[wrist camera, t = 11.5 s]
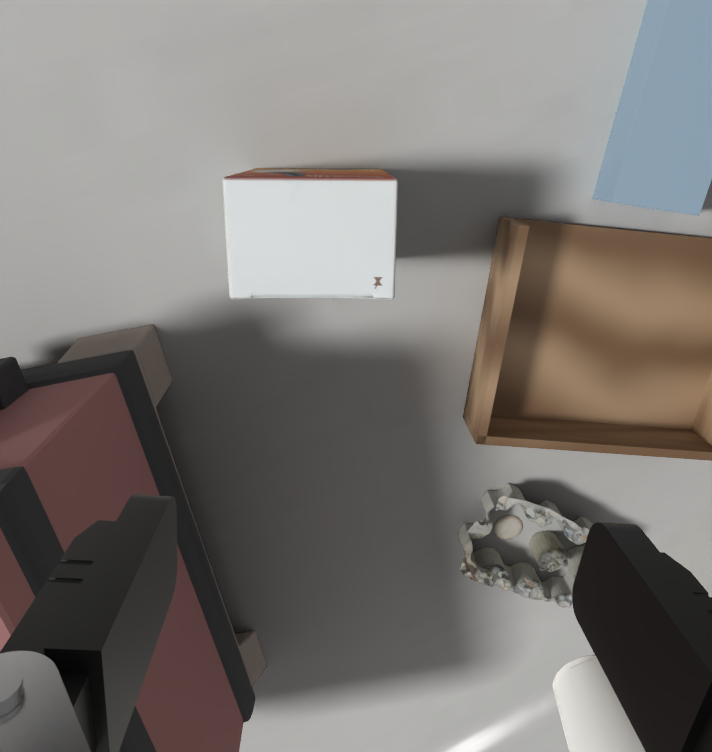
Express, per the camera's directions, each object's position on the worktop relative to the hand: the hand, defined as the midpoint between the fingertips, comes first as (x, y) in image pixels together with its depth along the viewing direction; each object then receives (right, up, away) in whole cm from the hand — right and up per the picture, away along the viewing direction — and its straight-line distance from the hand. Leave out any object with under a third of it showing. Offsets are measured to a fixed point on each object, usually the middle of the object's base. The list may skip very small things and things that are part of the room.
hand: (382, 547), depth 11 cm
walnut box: (+16, +6, +29) cm, 33 cm away
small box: (-3, +13, +25) cm, 29 cm away
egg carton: (+13, -9, +35) cm, 38 cm away
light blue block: (+18, +20, +24) cm, 36 cm away
